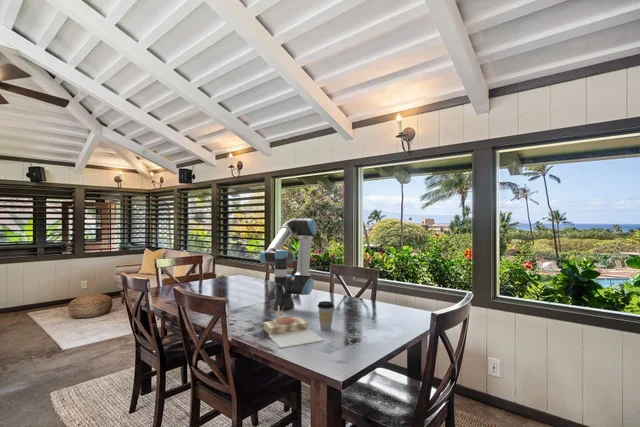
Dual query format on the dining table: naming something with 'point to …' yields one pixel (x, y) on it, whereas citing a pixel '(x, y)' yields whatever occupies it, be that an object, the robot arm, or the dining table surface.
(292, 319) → the tile
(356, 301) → the dining table surface
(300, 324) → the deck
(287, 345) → the mat
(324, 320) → the coffee cup
